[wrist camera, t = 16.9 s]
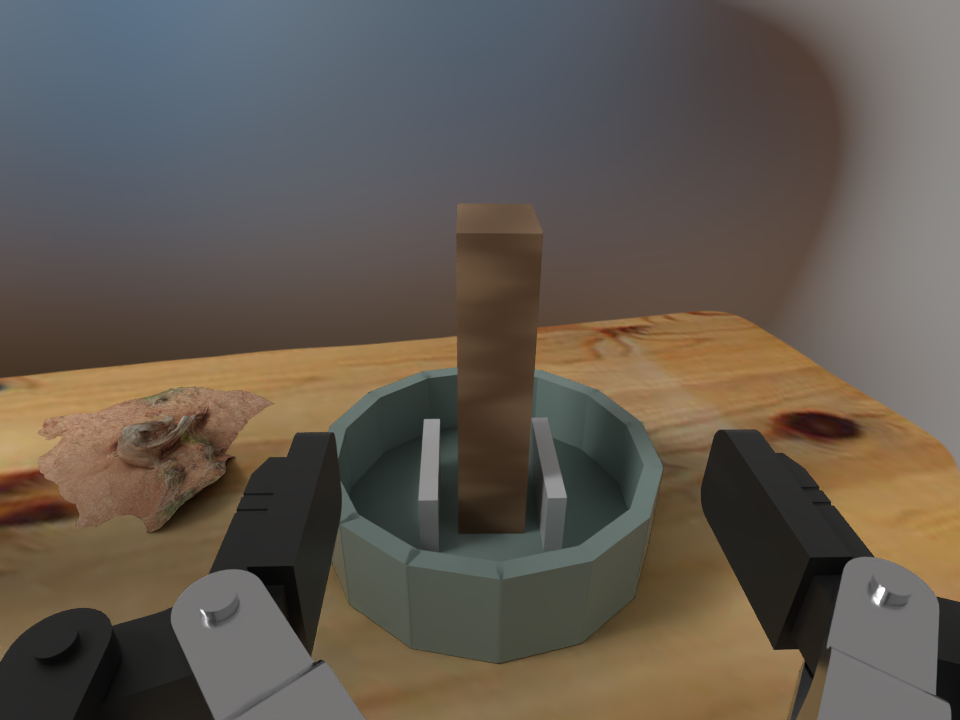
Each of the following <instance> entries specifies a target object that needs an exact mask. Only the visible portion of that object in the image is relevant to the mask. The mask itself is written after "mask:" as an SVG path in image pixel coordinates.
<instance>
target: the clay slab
mask: <svg viewBox="0 0 960 720" xmlns="http://www.w3.org/2000/svg"><path fill="white" fill-rule="evenodd" d="M272 404H273V403H271V402H270V401H268V400H266V399H263V398H261V396H258V395H256V394H251V393H249V392H246V391H242V390H232V391H226V392H225V391H221V390H216V391H215V390H213V389H208V388H205V389H204V388H203V387H196V386H194V387H186V388H183V387H180V388H174V389H169V390H166V391H164V392H161V393H159V394H156V395H153V396H149V397H145V398H140V399H132V400H129V401H125V402H122V403H118V404H115V405H113V406H111V407H109V408H107V409H104V410H101V411H99V412H96V413H89V414H81V413H77V414H71V415H67V416H61V417H54V418H50V419H47V420H44V424H43V429H41V430H39V431H38V434H39V435H41V436H43V437H46V440H51V439H54V438H56V437H57V436H63V438H62V439H61V440H60V442H59V443H58V444H57V445H56V446H55V447H54V448H53V449H51V450H50V451H49V452H48V453H46V454H45V455H43V456H41V457H39V459H38V465H39V468H40V471H39V472H41V473H43V474H44V477H45V478H46V479H48V480H51V481H53V482H55V484H57V485H58V486H59V489H58V491H59V492H60V495H61V496H63V497H64V500H67V501H68V502H70V503H73V504H75V503H77V505H76V507H77V509H78V511H79V519H78V520H77V522H76V527H80V528H84V527H87V526H98V525H100V524H102V523H104V522H105V521H107V520H109V519H111V518H113V517H115V516H117V515H134V516H136V517H138V518H140V519H143V520H144V521H145V522H144V523H145V525H146V527H147V532H153V531H156V530H157V529H159V528H161V527H162V526H163V525H164V524H165V523H166V522H167V521H168V520H169V519H170V518H171V517H172V516H173V514H174V513H175V511H176V510H177V509H178V508H179V507H180V506H181V505H183V504H184V502H185V501H187V500H188V499H190V498H192V497H193V496H195V494H196V493H197V492H199V491H201V490H202V489H203V488H204V487H206V486H208V485H210V484H212V483H214V482H215V481H217V480H218V479H219V478H220V477H221V476H223V474H224V473H225V472H226V466H225V461H226V460H227V459H228V458H230V457H233V456H229V455H225V454H224V452H225V451H226V450H227V449H228V448H229V446H230V444H231V443H232V442H233V441H234V440H235V439H236V437H237V435H238V432H239V431H240V430H242V429H243V427H244V426H245V425H246V424H247V421H248V420H249V419H251V418H252V417H253V416H255V415H256V414H258V413H259V412H261V411H262V410H263V409H264V408H266V407H268V406H270V405H272Z"/></svg>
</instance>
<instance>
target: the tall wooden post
mask: <svg viewBox="0 0 960 720" xmlns="http://www.w3.org/2000/svg"><path fill="white" fill-rule="evenodd" d="M542 243H543V232H542V229H541V227H540V224H539V222H538V219H537V216H536V214H535V211H534V208H533V206H532V204H458V207H457V381H458V534H524V530H525V514H526V498H527V482H528V466H529V450H530V434H531V418H532V402H533V387H534V371H535V355H536V339H537V323H538V307H539V291H540V274H541V258H542Z"/></svg>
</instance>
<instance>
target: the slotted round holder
mask: <svg viewBox="0 0 960 720" xmlns="http://www.w3.org/2000/svg"><path fill="white" fill-rule="evenodd" d="M328 432H333V433H334V434H335V438H336V445H337V454H338V463H339V472H340V481H341V490H342V509H341V518H340V524H339V528H338V533H337V538H336V542H335V547H334V552H333V556H332V564H333V566H334V568H335V571H336V573H337V576H338V578H339V580H340V583H341V585H342V588H343V590H344V592H345V595H346V597H347V600H348V602H349V605H351V606H352V607H354V608H355V609H356V610H358V611H359V612H361V613H362V614H363V615H365V616H366V617H368V618H369V619H371V620H372V621H373V622H375V623H376V624H378V625H379V626H380V627H382V628H383V629H385V630H386V631H387V632H389V633H390V634H392V635H393V636H394V637H396V638H397V639H399V640H400V641H402V642H403V643H404V644H406V645H407V646H409V647H410V648H411V649H418V650H424V651H429V652H435V653H441V654H446V655H452V656H458V657H463V658H469V659H475V660H480V661H486V662H492V663H497V664H499V663H503V662H507V661H511V660H515V659H519V658H523V657H527V656H532V655H536V654H540V653H544V652H548V651H552V650H556V649H561V648H565V647H569V646H573V645H577V644H581V643H582V642H584V641H585V640H586V639H587V638H588V637H589V636H591V635H592V634H593V633H594V632H595V631H596V630H598V629H599V628H600V627H601V626H602V625H603V624H604V623H606V622H607V621H608V620H609V619H610V618H611V617H613V616H614V615H615V614H616V613H617V612H618V611H619V610H621V609H622V608H623V607H624V606H625V605H626V604H628V603H629V602H630V601H631V600H632V599H633V598H634V597H635V594H636V590H637V586H638V582H639V578H640V574H641V570H642V566H643V563H644V559H645V555H646V551H647V547H648V544H649V540H650V535H651V530H652V525H653V519H654V514H655V509H656V504H657V499H658V494H659V489H660V484H661V478H662V473H663V466H662V463H661V461H660V459H659V457H658V455H657V453H656V451H655V449H654V447H653V445H652V443H651V440H650V438H649V436H648V434H647V432H646V430H645V428H644V426H643V424H642V422H640V421H639V420H638V419H636V418H635V417H634V416H632V415H631V414H630V413H628V412H627V411H626V410H624V409H623V408H622V407H620V406H619V405H618V404H616V403H615V402H614V401H612V400H611V399H610V398H608V397H607V396H606V395H604V394H603V393H602V392H600V391H599V390H597V389H594V388H592V387H589V386H586V385H583V384H580V383H577V382H574V381H571V380H569V379H566V378H563V377H560V376H557V375H554V374H551V373H549V372H546V371H543V370H535V371H534V387H533V402H532V418H531V434H530V450H529V466H528V482H527V498H526V514H525V530H524V534H458V381H457V367H455V368H447V369H439V370H431V371H422V372H420V373H417V374H414V375H412V376H409V377H407V378H404V379H402V380H399V381H397V382H394V383H391V384H389V385H386V386H384V387H381V388H379V389H376V390H373V391H371V392H368V393H367V394H366V395H365V396H364V397H363V398H362V399H361V400H359V401H358V402H357V403H356V404H355V405H354V406H353V407H351V408H350V409H349V410H348V411H347V412H346V413H345V414H344V415H342V416H341V417H340V418H339V419H338V420H337V421H336V422H334V423H333V424H332V425H331V426H330V427H329V430H328Z"/></svg>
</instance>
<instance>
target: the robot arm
mask: <svg viewBox="0 0 960 720" xmlns="http://www.w3.org/2000/svg"><path fill="white" fill-rule="evenodd" d="M701 503H702V508H703V512H704V514H705V517H706V519H707V521H708V523H709V525H710V526H711V528H712V530H713V532H714V534H715V536H716V538H717V540H718V542H719V544H720V546H721V548H722V550H723V552H724V554H725V556H726V558H727V559H728V561H729V563H730V565H731V567H732V569H733V571H734V573H735V575H736V577H737V579H738V581H739V583H740V585H741V587H742V589H743V591H744V592H745V594H746V596H747V598H748V600H749V602H750V604H751V606H752V608H753V610H754V612H755V614H756V616H757V618H758V620H759V622H760V624H761V626H762V627H763V629H764V631H765V633H766V635H767V637H768V639H769V641H770V643H771V645H772V647H773V649H774V650H784V649H799V650H800V652H801V654H802V656H803V658H804V661H803V664H802V666H801V668H800V671H799V675H798V679H797V682H796V686H795V690H794V694H793V698H792V702H791V706H790V710H789V714H788V718H787V720H960V602H957V601H953V600H949V599H944V598H940V597H936V596H935V594H934V592H933V591H932V590H931V589H930V587H929V586H928V585H927V584H926V583H925V582H924V581H923V580H922V579H920V578H919V577H918V576H917V575H915V574H914V573H912V572H911V571H909V570H908V569H906V568H904V567H902V566H900V565H898V564H896V563H893V562H890V561H887V560H884V559H880V558H875V557H874V556H873V554H872V553H871V552H870V551H869V549H868V548H867V547H866V546H865V544H864V543H863V542H862V541H861V539H860V538H859V537H858V535H857V534H856V533H855V532H854V530H853V529H852V528H851V527H850V525H849V524H848V523H847V522H846V520H845V519H844V518H843V516H842V515H841V514H840V513H839V511H838V510H837V509H836V508H835V506H831V501H830V500H829V499H828V497H827V496H826V495H825V494H824V492H823V491H822V490H819V486H818V485H817V484H816V482H815V481H814V480H813V478H812V477H811V476H810V475H809V473H808V472H807V471H806V470H805V468H803V467H802V466H800V465H799V464H797V463H796V462H795V461H793V460H792V459H790V458H789V457H788V456H786V455H785V454H783V453H775V452H774V451H773V449H772V448H771V447H770V445H769V444H768V443H767V441H766V440H765V439H764V437H763V436H762V435H761V433H760V432H759V431H757V430H719V431H717V432H716V434H715V436H714V439H713V443H712V447H711V450H710V454H709V458H708V462H707V466H706V470H705V474H704V478H703V482H702V487H701ZM341 509H342V490H341V481H340V472H339V463H338V454H337V445H336V438H335V434H334V433H333V432H305V433H296V434H295V436H294V439H293V442H292V444H291V447H290V450H289V453H288V455H287V457H269V458H268V459H267V460H266V461H265V462H264V463H263V464H262V465H261V466H260V467H259V468H258V469H257V470H256V471H255V472H254V473H253V474H252V475H251V477H250V480H249V482H248V484H247V487H246V489H245V491H244V496H243V497H242V498H241V500H240V503H239V505H238V507H237V513H235V514H234V517H233V519H232V521H231V524H230V526H229V528H228V531H227V533H226V535H225V538H224V540H223V542H222V545H221V547H220V549H219V552H218V554H217V556H216V559H215V561H214V563H213V566H212V568H211V570H210V573H209V574H208V575H206V576H204V577H202V578H200V579H199V580H197V581H195V582H194V583H193V584H191V585H190V586H189V587H188V588H186V589H185V590H184V591H183V592H182V594H181V595H180V596H179V597H178V599H177V600H176V602H175V604H174V606H173V607H171V608H169V609H167V610H165V611H162V612H159V613H156V614H153V615H149V616H146V617H142V618H139V619H135V620H131V621H128V622H124V623H121V624H117V625H114V626H112V625H111V622H110V620H109V618H108V617H107V616H106V615H105V614H104V613H102V612H101V611H98V610H96V609H90V608H77V609H70V610H66V611H62V612H60V613H57V614H54V615H52V616H50V617H47V618H45V619H43V620H42V621H40V622H38V623H36V624H35V625H33V626H32V627H31V628H29V629H28V630H26V631H25V632H24V633H23V634H22V635H21V636H20V637H19V638H18V639H17V640H16V641H15V642H14V643H13V644H12V645H11V647H10V648H9V649H8V651H7V652H6V654H5V655H4V657H3V659H2V660H1V662H0V720H365V718H364V717H363V715H362V714H361V712H360V711H359V709H358V708H357V706H356V705H355V703H354V702H353V700H352V699H351V697H350V696H349V694H348V693H347V691H346V690H345V688H344V687H343V685H342V684H341V682H340V681H339V679H338V678H337V676H336V675H335V673H334V672H333V670H332V669H331V668H330V667H329V665H328V664H327V663H326V662H325V661H323V660H319V661H318V662H314V661H313V659H312V658H311V654H312V650H313V645H314V640H315V636H316V631H317V626H318V622H319V617H320V612H321V608H322V603H323V598H324V594H325V589H326V584H327V580H328V575H329V570H330V566H331V561H332V556H333V552H334V547H335V542H336V538H337V533H338V528H339V524H340V518H341Z"/></svg>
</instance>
